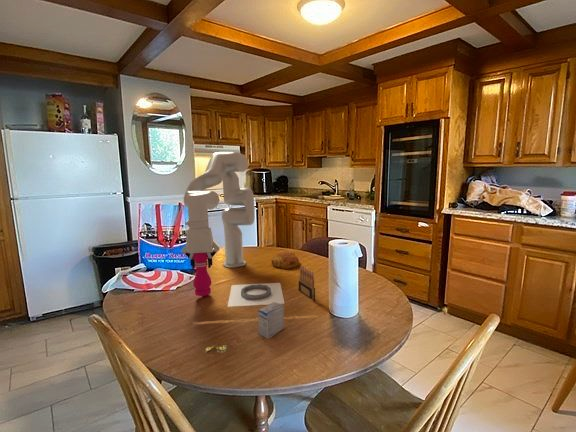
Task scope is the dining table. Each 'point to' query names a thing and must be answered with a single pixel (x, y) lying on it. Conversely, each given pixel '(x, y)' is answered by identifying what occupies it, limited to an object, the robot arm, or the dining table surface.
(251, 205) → the robot arm
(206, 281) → the pepper mill
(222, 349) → the bearing assembly
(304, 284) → the ammunition clip
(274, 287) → the seat board
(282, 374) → the dining table surface
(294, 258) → the brown rounded lump
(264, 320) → the medicine box
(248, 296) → the ring collar
